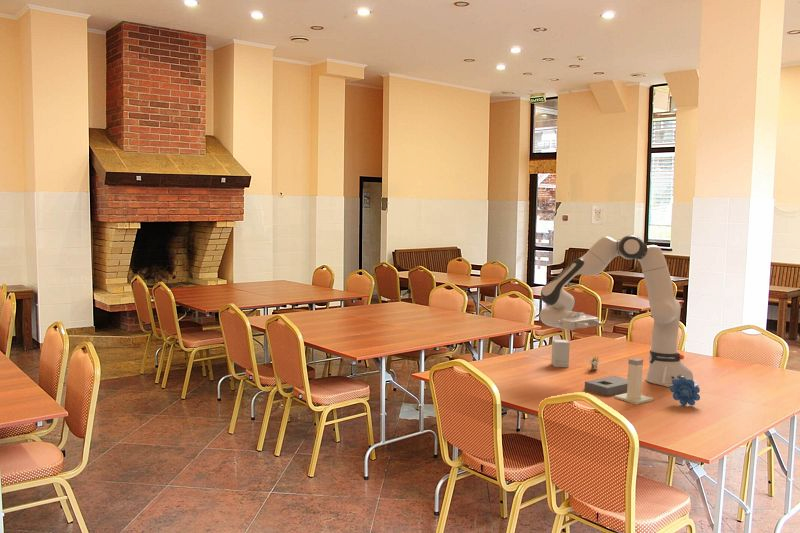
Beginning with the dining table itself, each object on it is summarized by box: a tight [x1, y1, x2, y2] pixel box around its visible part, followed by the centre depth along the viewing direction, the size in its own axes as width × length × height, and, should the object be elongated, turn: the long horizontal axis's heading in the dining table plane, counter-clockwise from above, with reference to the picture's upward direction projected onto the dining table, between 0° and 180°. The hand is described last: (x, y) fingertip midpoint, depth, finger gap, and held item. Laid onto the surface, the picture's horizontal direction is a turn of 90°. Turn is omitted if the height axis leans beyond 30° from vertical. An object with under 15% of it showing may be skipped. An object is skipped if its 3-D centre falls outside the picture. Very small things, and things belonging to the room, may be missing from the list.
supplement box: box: [550, 339, 571, 368], centre depth 341 cm, size 7×7×13 cm
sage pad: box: [614, 392, 654, 405], centre depth 284 cm, size 11×11×1 cm
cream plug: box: [626, 357, 644, 399], centre depth 284 cm, size 4×4×16 cm
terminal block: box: [584, 375, 628, 397], centre depth 299 cm, size 20×12×4 cm, turn 125°
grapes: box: [669, 376, 701, 406], centre depth 276 cm, size 12×7×12 cm, turn 70°
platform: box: [589, 356, 601, 372], centre depth 333 cm, size 12×18×7 cm, turn 156°
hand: (593, 325), depth 302 cm, fingers open, 8 cm apart
